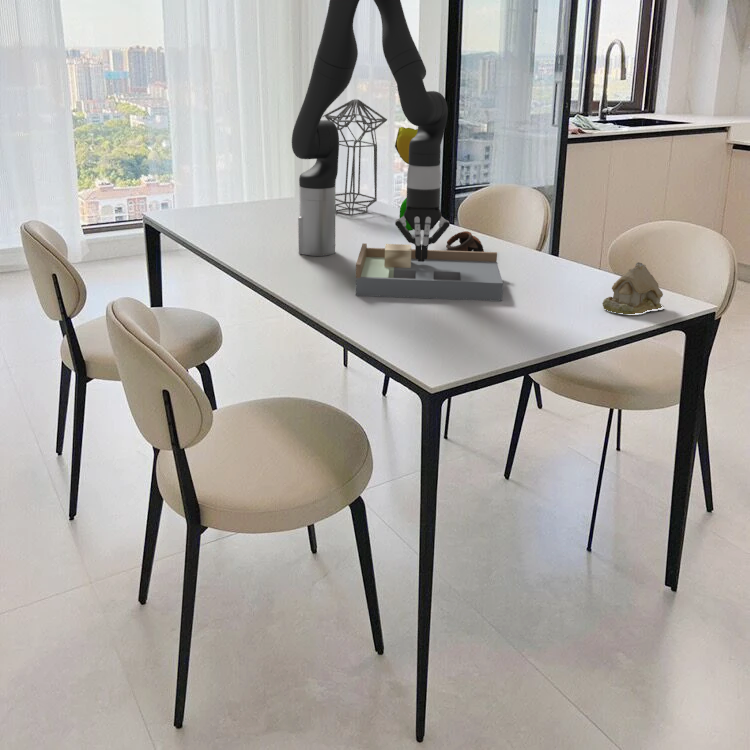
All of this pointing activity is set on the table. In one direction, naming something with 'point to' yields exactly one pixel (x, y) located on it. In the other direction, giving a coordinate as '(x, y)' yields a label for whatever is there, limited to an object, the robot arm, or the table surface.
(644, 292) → the ceramic model
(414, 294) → the board
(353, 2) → the robot arm
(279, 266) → the table surface
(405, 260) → the maple block
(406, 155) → the flower
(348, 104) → the geometric lantern
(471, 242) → the brown curved piece
